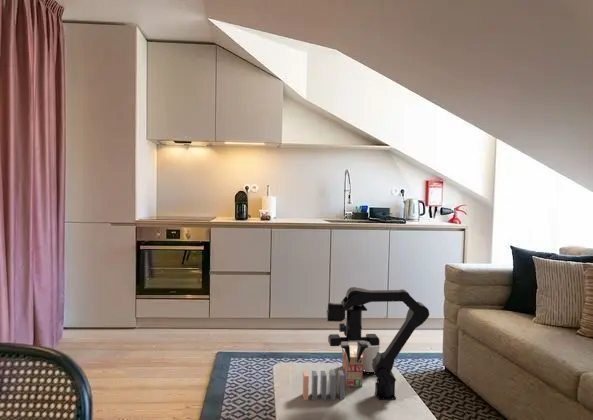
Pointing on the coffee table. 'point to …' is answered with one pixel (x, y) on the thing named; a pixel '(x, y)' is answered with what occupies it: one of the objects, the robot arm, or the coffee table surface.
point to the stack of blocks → (353, 367)
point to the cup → (369, 356)
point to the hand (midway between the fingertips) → (353, 362)
